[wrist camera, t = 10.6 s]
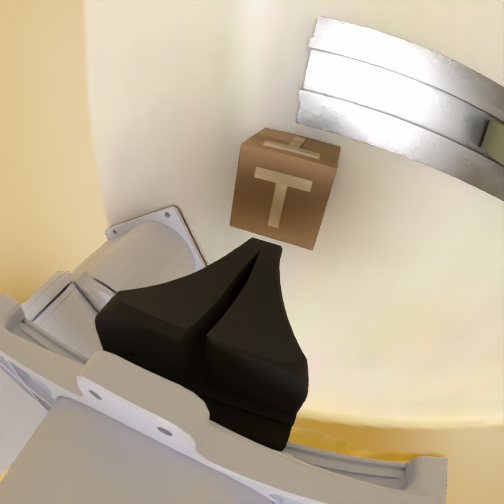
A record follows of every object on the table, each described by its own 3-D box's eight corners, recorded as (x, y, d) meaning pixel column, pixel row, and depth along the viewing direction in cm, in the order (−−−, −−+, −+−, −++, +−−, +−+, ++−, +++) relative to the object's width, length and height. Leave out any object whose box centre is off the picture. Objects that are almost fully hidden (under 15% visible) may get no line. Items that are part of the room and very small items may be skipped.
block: (321, 213, 22) (312, 251, 17) (254, 194, 22) (229, 226, 18) (340, 144, 19) (337, 166, 14) (266, 125, 19) (240, 141, 15)
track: (298, 120, 18) (292, 125, 17) (319, 18, 14) (315, 12, 13) (578, 244, 14) (590, 258, 13) (608, 174, 10) (622, 185, 9)
